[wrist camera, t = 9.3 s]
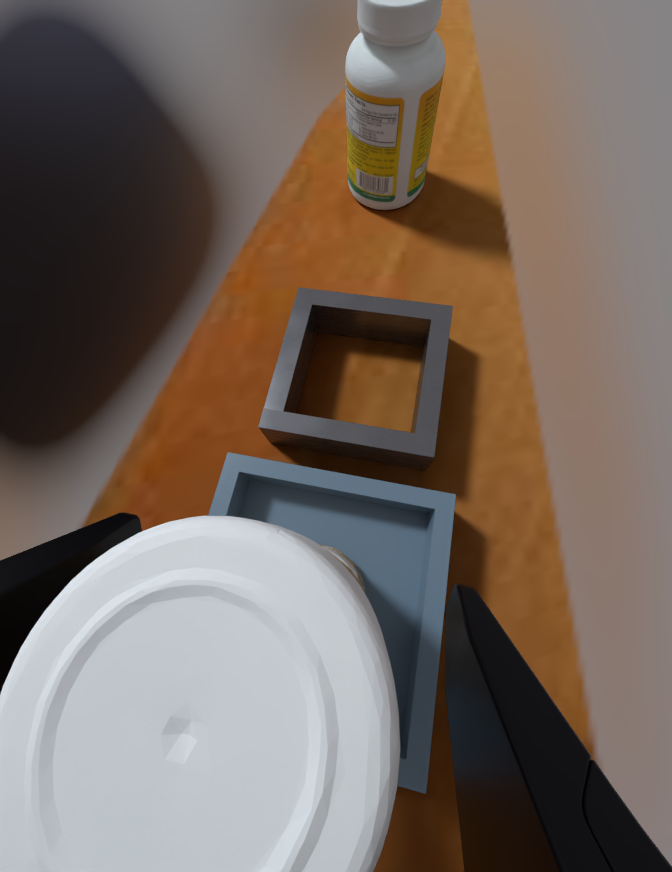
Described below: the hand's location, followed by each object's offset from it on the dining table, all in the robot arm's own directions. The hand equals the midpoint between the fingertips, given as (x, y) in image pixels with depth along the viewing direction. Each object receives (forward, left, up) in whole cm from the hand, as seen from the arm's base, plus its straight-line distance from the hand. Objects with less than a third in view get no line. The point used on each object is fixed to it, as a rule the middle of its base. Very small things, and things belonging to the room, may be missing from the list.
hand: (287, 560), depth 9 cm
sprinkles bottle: (-2, 0, -9) cm, 9 cm away
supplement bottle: (+26, +1, -10) cm, 27 cm away
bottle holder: (+10, 0, -9) cm, 13 cm away
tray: (-1, 0, -9) cm, 9 cm away
